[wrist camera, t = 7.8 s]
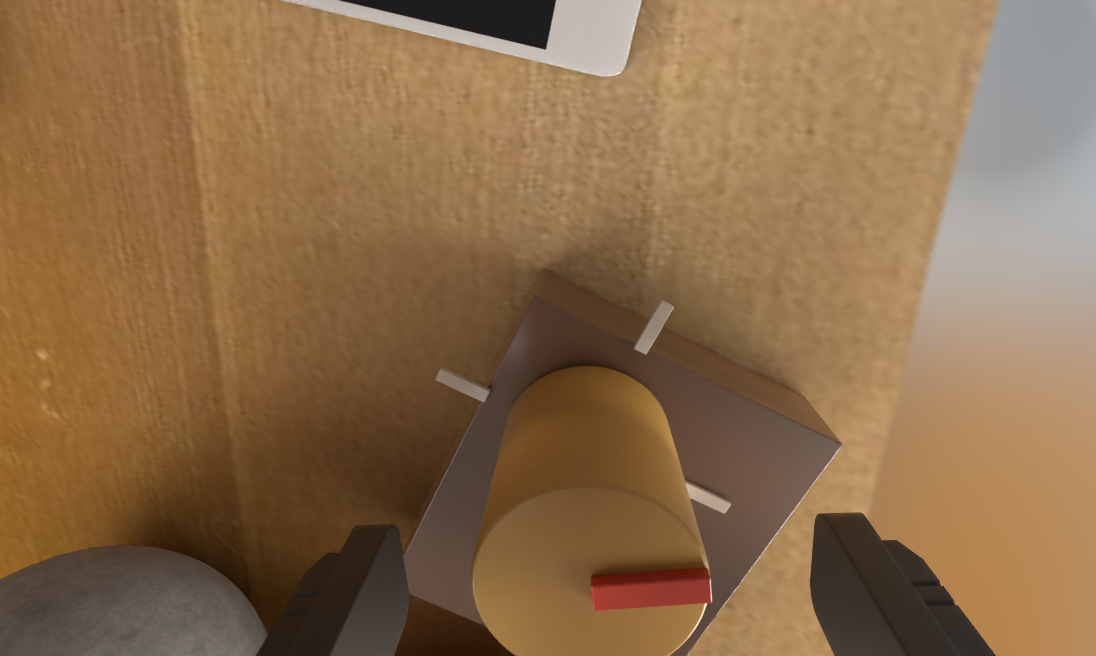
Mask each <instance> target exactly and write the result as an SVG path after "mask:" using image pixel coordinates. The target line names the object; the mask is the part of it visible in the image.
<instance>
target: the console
mask: <svg viewBox="0 0 1096 656" xmlns="http://www.w3.org/2000/svg"><path fill="white" fill-rule="evenodd" d="M673 308H674V307H673V305H671V304H669V303H667V302H665V301H663V300H660V301H659V303H658V304H657V306H656V308H655V310H654V311H653V313H652V315H651V317H650V318H649V320H647V319H645V318H643V317H641V316H639V315H637V314H635V313H633V312H631V311H629V310H627V309H625V308H623V307H621V306H619V305H617V304H614V303H612V302H610V301H608V300H606V299H604V298H602V297H600V296H598V295H596V294H594V293H592V292H590V291H588V290H586V289H584V288H582V287H580V286H578V285H576V284H574V283H572V282H570V281H568V280H566V279H564V278H561V277H559V276H557V275H555V274H553V273H551V272H549V271H547V270H545V269H543V268H541V269H540V271H539V273H538V275H537V277H536V279H535V281H534V283H533V285H532V287H531V289H530V291H529V293H528V295H527V297H526V299H525V301H524V303H523V305H522V307H521V309H520V311H519V313H518V315H517V317H516V319H515V321H514V323H513V325H512V327H511V329H510V331H509V333H508V335H507V337H506V339H505V341H504V343H503V345H502V347H501V349H500V351H499V353H498V355H497V357H496V359H495V361H494V363H493V365H492V367H491V369H490V371H489V373H488V375H487V377H486V379H485V381H484V383H483V385H480V384H478V383H476V382H473V381H471V380H469V379H467V378H465V377H463V376H461V375H458V374H456V373H454V372H452V371H450V370H448V369H446V368H443V367H441V369H440V371H439V373H438V375H437V377H436V379H435V380H436V381H438V382H441V383H443V384H445V385H447V386H449V387H451V388H454V389H456V390H458V391H460V392H462V393H464V394H467V395H469V396H471V397H473V398H475V401H474V403H473V405H472V407H471V409H470V411H469V413H468V415H467V417H466V419H465V421H464V423H463V425H462V427H461V429H460V431H459V433H458V435H457V437H456V439H455V441H454V443H453V445H452V447H451V449H450V451H449V453H448V455H447V457H446V459H445V461H444V463H443V465H442V467H441V469H440V471H439V473H438V475H437V477H436V479H435V481H434V483H433V485H432V487H431V489H430V491H429V493H428V495H427V497H426V499H425V501H424V503H423V505H422V507H421V509H420V511H419V513H418V515H417V517H416V519H415V521H414V523H413V526H412V528H411V530H410V533H409V535H408V538H407V540H406V543H405V545H404V547H403V550H402V554H403V559H404V565H405V571H406V576H407V582H408V588H409V594H410V595H413V596H415V597H417V598H420V599H422V600H424V601H427V602H429V603H431V604H434V605H436V606H438V607H441V608H443V609H446V610H448V611H450V612H453V613H455V614H457V615H460V616H462V617H464V618H467V619H469V620H471V621H474V622H476V623H478V624H481V625H483V626H486V625H485V623H484V622H483V620H482V618H481V616H480V614H479V612H478V610H477V607H476V604H475V601H474V597H473V594H472V587H471V566H472V561H473V556H474V551H475V547H476V543H477V539H478V535H479V531H480V527H481V523H482V519H483V515H484V510H485V506H486V502H487V498H488V494H489V490H490V486H491V482H492V478H493V474H494V469H495V465H496V461H497V457H498V453H499V449H500V445H501V441H502V437H503V433H504V428H505V424H506V421H507V418H508V415H509V412H510V411H511V409H512V407H513V405H514V403H515V402H516V400H517V399H518V398H519V396H520V395H521V394H522V393H523V392H524V391H525V390H526V389H527V388H528V387H529V386H530V385H532V384H533V383H534V382H535V381H537V380H539V379H540V378H542V377H544V376H545V375H548V374H550V373H552V372H555V371H558V370H561V369H564V368H570V367H576V366H597V367H604V368H609V369H612V370H615V371H618V372H621V373H624V374H626V375H628V376H630V377H632V378H633V379H635V380H636V381H638V382H639V383H641V384H642V385H643V386H644V387H646V388H647V389H648V390H649V391H650V392H651V393H652V394H653V396H654V397H655V398H656V399H657V401H658V402H659V404H660V405H661V407H662V409H663V411H664V413H665V415H666V417H667V421H668V424H669V427H670V431H671V434H672V438H673V441H674V445H675V448H676V452H677V455H678V459H679V462H680V466H681V469H682V473H683V476H684V480H685V483H686V487H687V490H688V494H689V497H690V501H691V504H692V508H693V511H694V515H695V518H696V521H697V525H698V528H699V532H700V535H701V539H702V542H703V546H704V549H705V553H706V556H707V560H708V564H709V571H710V577H711V589H712V603H707V605H706V608H705V611H704V613H703V616H702V618H701V620H700V622H699V624H698V626H697V627H696V629H695V630H694V631H693V633H692V634H691V636H690V637H689V638H688V639H687V640H686V641H685V642H684V643H683V644H682V645H681V646H680V647H679V648H678V649H677V650H676V651H674V652H673V653H672V654H671V655H669V656H687V655H688V654H689V653H690V651H691V650H692V648H693V647H694V646H695V644H696V643H697V642H698V640H699V639H700V638H701V636H702V635H703V634H704V632H705V631H706V629H707V628H708V627H709V625H710V624H711V623H712V621H713V620H714V619H715V617H716V616H717V615H718V613H719V612H720V611H721V609H722V608H723V606H724V605H725V604H726V602H727V601H728V600H729V598H730V597H731V596H732V594H733V593H734V592H735V590H736V589H737V588H738V586H739V585H740V583H741V582H742V581H743V579H744V578H745V577H746V575H747V574H748V573H749V571H750V570H751V569H752V567H753V566H754V564H755V563H756V562H757V560H758V559H759V558H760V556H761V555H762V554H763V552H764V551H765V550H766V548H767V547H768V546H769V544H770V543H771V541H772V540H773V539H774V537H775V536H776V535H777V533H778V532H779V531H780V529H781V528H782V527H783V525H784V524H785V522H786V521H787V520H788V518H789V517H790V516H791V514H792V513H793V512H794V510H795V509H796V508H797V506H798V505H799V504H800V502H801V501H802V499H803V498H804V497H805V495H806V494H807V493H808V491H809V490H810V489H811V487H812V486H813V485H814V483H815V482H816V481H817V479H818V478H819V476H820V475H821V474H822V472H823V471H824V470H825V468H826V467H827V466H828V464H829V463H830V462H831V460H832V459H833V457H834V456H835V455H836V453H837V452H838V451H839V449H840V448H841V447H842V443H841V442H840V441H839V439H838V438H837V437H836V436H835V434H834V433H833V432H832V431H831V429H830V428H829V427H828V426H827V424H826V423H825V422H824V421H823V419H822V418H821V417H820V416H819V414H818V413H817V412H816V411H815V409H814V408H813V407H812V406H811V404H810V403H809V402H808V401H807V399H806V398H805V397H804V396H802V395H800V394H798V393H796V392H794V391H792V390H790V389H788V388H786V387H784V386H782V385H780V384H778V383H775V382H773V381H771V380H769V379H767V378H765V377H763V376H761V375H759V374H757V373H755V372H753V371H751V370H749V369H747V368H745V367H743V366H741V365H739V364H737V363H735V362H733V361H731V360H729V359H727V358H725V357H722V356H720V355H718V354H716V353H714V352H712V351H710V350H708V349H706V348H704V347H702V346H700V345H698V344H696V343H694V342H692V341H690V340H688V339H686V338H684V337H682V336H680V335H678V334H676V333H674V332H672V331H670V330H667V329H665V328H663V325H664V323H665V322H666V320H667V318H668V317H669V315H670V313H671V311H672V310H673ZM486 627H487V626H486Z"/></svg>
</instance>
